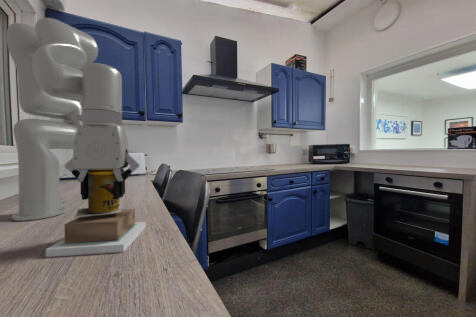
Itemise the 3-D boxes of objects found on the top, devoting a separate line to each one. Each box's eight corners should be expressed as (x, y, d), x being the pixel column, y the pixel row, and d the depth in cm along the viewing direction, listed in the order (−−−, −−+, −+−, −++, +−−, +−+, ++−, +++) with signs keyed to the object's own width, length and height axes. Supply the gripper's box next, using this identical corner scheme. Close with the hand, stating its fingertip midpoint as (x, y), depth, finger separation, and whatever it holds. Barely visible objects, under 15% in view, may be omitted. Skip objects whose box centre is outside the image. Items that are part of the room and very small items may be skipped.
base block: (93, 226, 50) (93, 210, 50) (135, 224, 51) (134, 209, 51) (64, 243, 40) (64, 224, 40) (117, 240, 42) (117, 221, 41)
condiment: (121, 212, 45) (121, 160, 45) (74, 218, 40) (73, 160, 40) (120, 205, 51) (120, 159, 51) (78, 210, 46) (78, 159, 46)
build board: (89, 230, 52) (89, 224, 52) (145, 227, 54) (145, 221, 54) (45, 257, 38) (45, 248, 38) (123, 251, 40) (123, 244, 40)
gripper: (48, 116, 40) (48, 203, 41) (137, 119, 43) (137, 200, 43) (73, 122, 48) (73, 195, 48) (147, 124, 50) (147, 194, 51)
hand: (103, 197), depth 46 cm, fingers closed on condiment, 6 cm apart
